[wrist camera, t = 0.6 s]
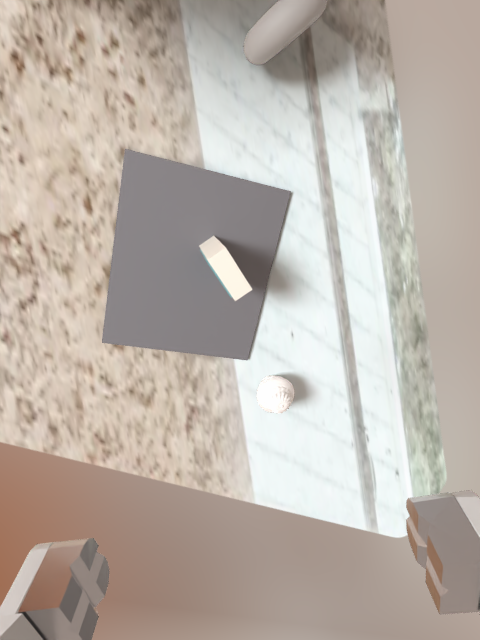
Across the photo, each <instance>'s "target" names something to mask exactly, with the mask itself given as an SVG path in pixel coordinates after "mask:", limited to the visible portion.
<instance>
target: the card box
mask: <svg viewBox="0 0 480 640" xmlns="http://www.w3.org/2000/svg"><path fill="white" fill-rule="evenodd" d="M199 247H200V251H201V253H202V255H203V256H204V258H205V260H206V262H207V263H208V265H209V266H210V268H211V269H212V271H213V272H214V274H215V275H216V277H217V278H218V279H219V281H220V282H221V284H222V285H223V287H224V288H225V290H226V291H227V293H228V294H229V296H230V297H231V298H232V297H233V299H234V300H235V301H236V300H238V299H239V298H241V297H242V296H244V295H245V294H247V293H248V292H250V291H251V290H252V288H251V286H250V285H249V283H248V282H247V280H246V279H245V277H244V275H243V274H242V272H241V271H240V269H239V268H238V266H237V264H236V263H235V261H234V260H233V258H232V257H231V255H230V253H229V252H228V250H227V249H226V247H225V246H224V245H223V244H222V243H221V242H220V241H219V240H218V239H217V238H216V237H215V236H213V237H211V238H210V239H208V240H207V241H205V242H204V243H202V244H201V245H199Z"/></svg>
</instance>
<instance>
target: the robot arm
mask: <svg viewBox="0 0 480 640" xmlns="http://www.w3.org/2000/svg"><path fill="white" fill-rule="evenodd" d="M406 508H407V510H408V513H409V515H410V517H409V518H408V519H407V520H406V524H407V533H408V538H409V542H410V545H411V548H412V551H413V553H414V555H415V558H416V560H417V562H418V563H419V564H420V565H421V566H422V567H424V568H425V569H426V584H427V586H428V589H429V591H430V594H431V596H432V598H433V600H434V603H435V605H436V608H437V610H438V612H439V614H453V613H468V612H480V498H479V496H478V495H477V494H476V493H475V492H473V491H471V490H467V491H460V492H454V493H441V494H434V495H427V496H420V497H413V498H408V499H407V505H406ZM97 548H98V544H97V543H96V541H95V540H94V538H89V539H80V540H71V541H63V542H52V543H43V544H37V545H36V546H35V547H34V548H33V549H32V550H31V551H30V552H29V554H28V556H27V558H26V560H25V562H24V563H23V565H22V567H21V569H20V571H19V573H18V575H17V577H16V579H15V581H14V583H13V584H12V586H11V588H10V590H9V592H8V594H7V596H6V598H5V600H4V602H3V604H2V605H1V607H0V640H92V637H93V633H94V630H95V627H96V623H97V620H98V617H99V616H98V613H97V609H96V606H97V605H98V604H99V603H100V602H101V600H102V599H103V598H104V596H105V594H106V590H107V587H108V582H109V566H108V562H107V560H106V558H105V557H104V556H103V555H101V554H100V553H98V552H97ZM479 614H480V613H479Z"/></svg>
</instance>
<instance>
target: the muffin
mask: <svg viewBox="0 0 480 640" xmlns="http://www.w3.org/2000/svg"><path fill="white" fill-rule="evenodd" d="M293 399H294V388H293V385H292V384H291V382H290V381H289V380H287V379H285V378H283V377H280V376H274V375H269V376H266V377H264V379H263V380H262V381H261V383H260V385H259V387H258V390H257V401H258V403H259V405H260V407H261V408H262V409H264V410H265V411H268V412H276V413H283V411H286V409H289V406H290V405H291V403H292V401H293Z"/></svg>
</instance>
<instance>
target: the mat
mask: <svg viewBox="0 0 480 640" xmlns="http://www.w3.org/2000/svg"><path fill="white" fill-rule="evenodd" d="M290 192H291V191H287V190H283V189H279V188H275V187H271V186H267V185H263V184H260V183H256V182H252V181H248V180H244V179H240V178H236V177H232V176H228V175H225V174H221V173H217V172H213V171H209V170H205V169H201V168H197V167H194V166H190V165H186V164H182V163H178V162H174V161H170V160H166V159H162V158H159V157H155V156H151V155H147V154H143V153H139V152H135V151H131V150H128V149H125V155H124V163H123V171H122V180H121V188H120V196H119V205H118V213H117V221H116V229H115V238H114V246H113V254H112V263H111V271H110V279H109V288H108V296H107V304H106V313H105V321H104V329H103V338H102V343H109V344H117V345H126V346H134V347H142V348H150V349H159V350H167V351H175V352H183V353H191V354H200V355H208V356H216V357H224V358H233V359H241V360H248V356H249V353H250V349H251V345H252V341H253V337H254V333H255V329H256V325H257V321H258V317H259V313H260V310H261V306H262V302H263V298H264V294H265V290H266V286H267V282H268V278H269V274H270V270H271V267H272V263H273V259H274V255H275V251H276V247H277V243H278V239H279V235H280V231H281V228H282V224H283V220H284V216H285V212H286V208H287V204H288V200H289V196H290ZM213 236H215V237H216V238H217V239H218V240H219V241H220V242H221V243H222V244H223V245H224V246H225V247H226V249H227V250H228V252H229V253H230V255H231V257H232V258H233V260H234V261H235V263H236V264H237V266H238V268H239V269H240V271H241V272H242V274H243V275H244V277H245V279H246V280H247V282H248V283H249V285H250V286H251V288H252V290H251V291H250V292H248V293H247V294H245V295H244V296H242V297H241V298H239V299H238V300H236V301H235V300H234V299H233V297H232V298H231V297H230V296H229V294H228V293H227V291H226V290H225V288H224V287H223V285H222V284H221V282H220V281H219V279H218V278H217V277H216V275H215V274H214V272H213V271H212V269H211V268H210V266H209V265H208V263H207V262H206V260H205V258H204V256H203V255H202V253H201V251H200V247H199V245H201V244H202V243H204V242H205V241H207V240H208V239H210V238H211V237H213Z"/></svg>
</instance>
